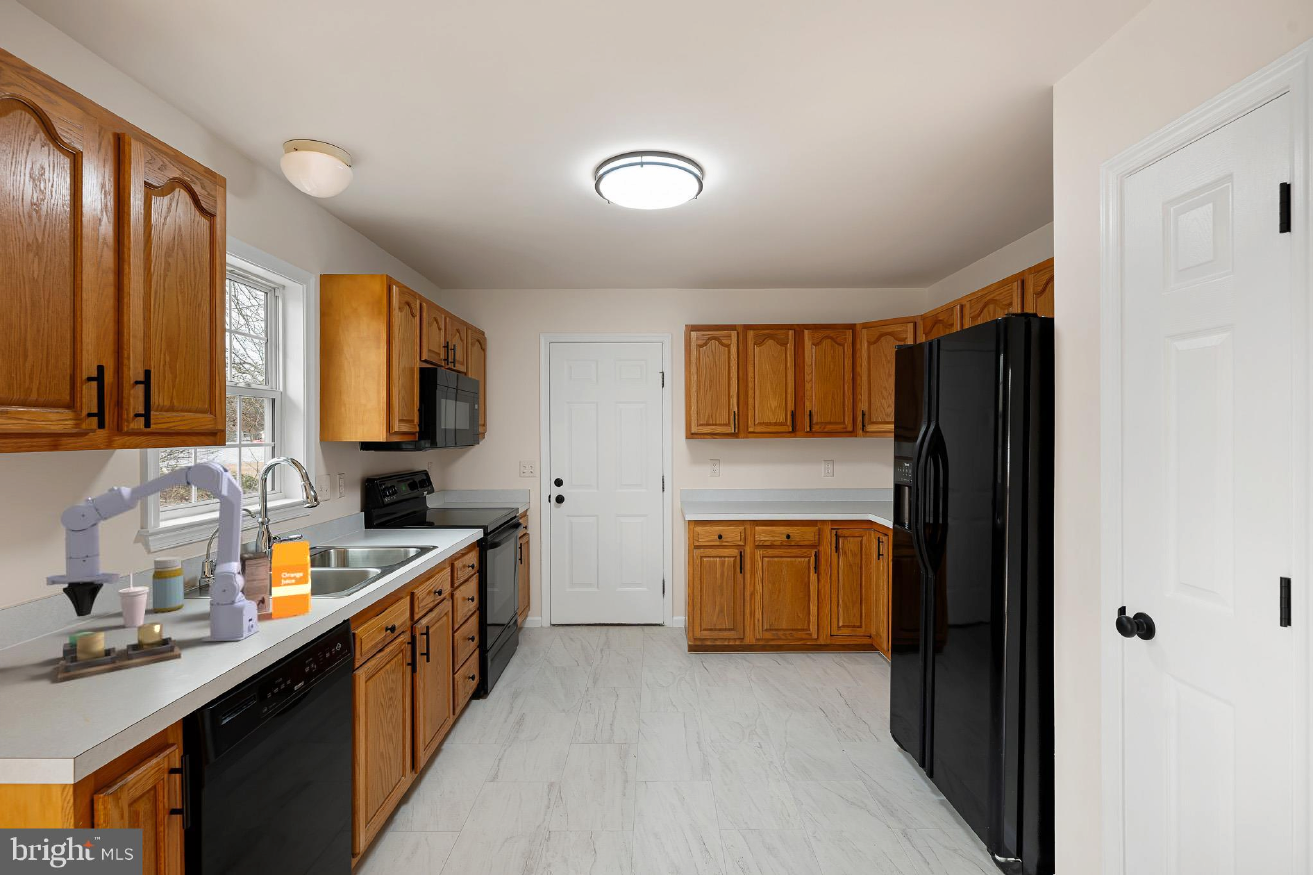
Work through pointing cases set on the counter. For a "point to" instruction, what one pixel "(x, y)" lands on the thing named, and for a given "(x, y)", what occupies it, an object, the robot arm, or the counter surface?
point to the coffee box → (256, 579)
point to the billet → (150, 636)
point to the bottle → (167, 584)
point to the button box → (69, 650)
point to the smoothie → (133, 604)
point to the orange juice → (291, 579)
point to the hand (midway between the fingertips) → (84, 615)
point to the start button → (74, 638)
